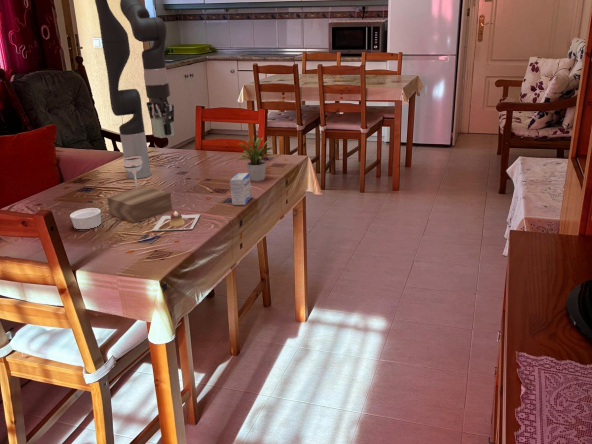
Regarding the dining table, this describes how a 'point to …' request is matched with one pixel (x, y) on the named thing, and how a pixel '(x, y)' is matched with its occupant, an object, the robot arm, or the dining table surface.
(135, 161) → the wineglass
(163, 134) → the sage block
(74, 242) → the dining table surface
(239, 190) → the medicine box
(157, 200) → the walnut block
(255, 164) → the house plant
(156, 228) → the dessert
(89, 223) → the ramekin
